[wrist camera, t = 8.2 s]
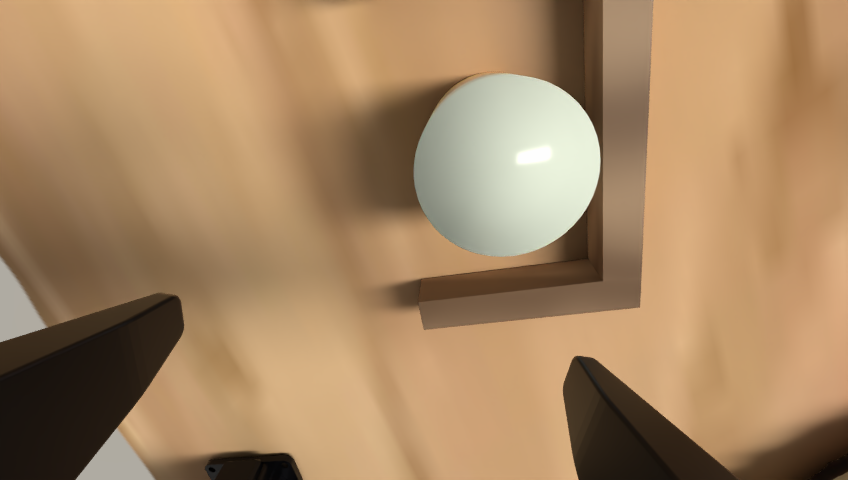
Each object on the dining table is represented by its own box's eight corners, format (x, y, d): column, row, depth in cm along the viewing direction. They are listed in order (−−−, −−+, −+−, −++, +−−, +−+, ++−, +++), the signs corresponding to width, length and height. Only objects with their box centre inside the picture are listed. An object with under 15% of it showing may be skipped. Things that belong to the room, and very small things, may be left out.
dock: (621, 282, 20) (639, 307, 18) (427, 304, 21) (424, 329, 19) (629, -124, 13) (660, -158, 11) (351, -54, 15) (334, -72, 13)
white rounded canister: (557, 190, 18) (600, 244, 13) (438, 207, 19) (430, 265, 13) (551, 59, 16) (600, 56, 10) (416, 85, 17) (397, 95, 11)
